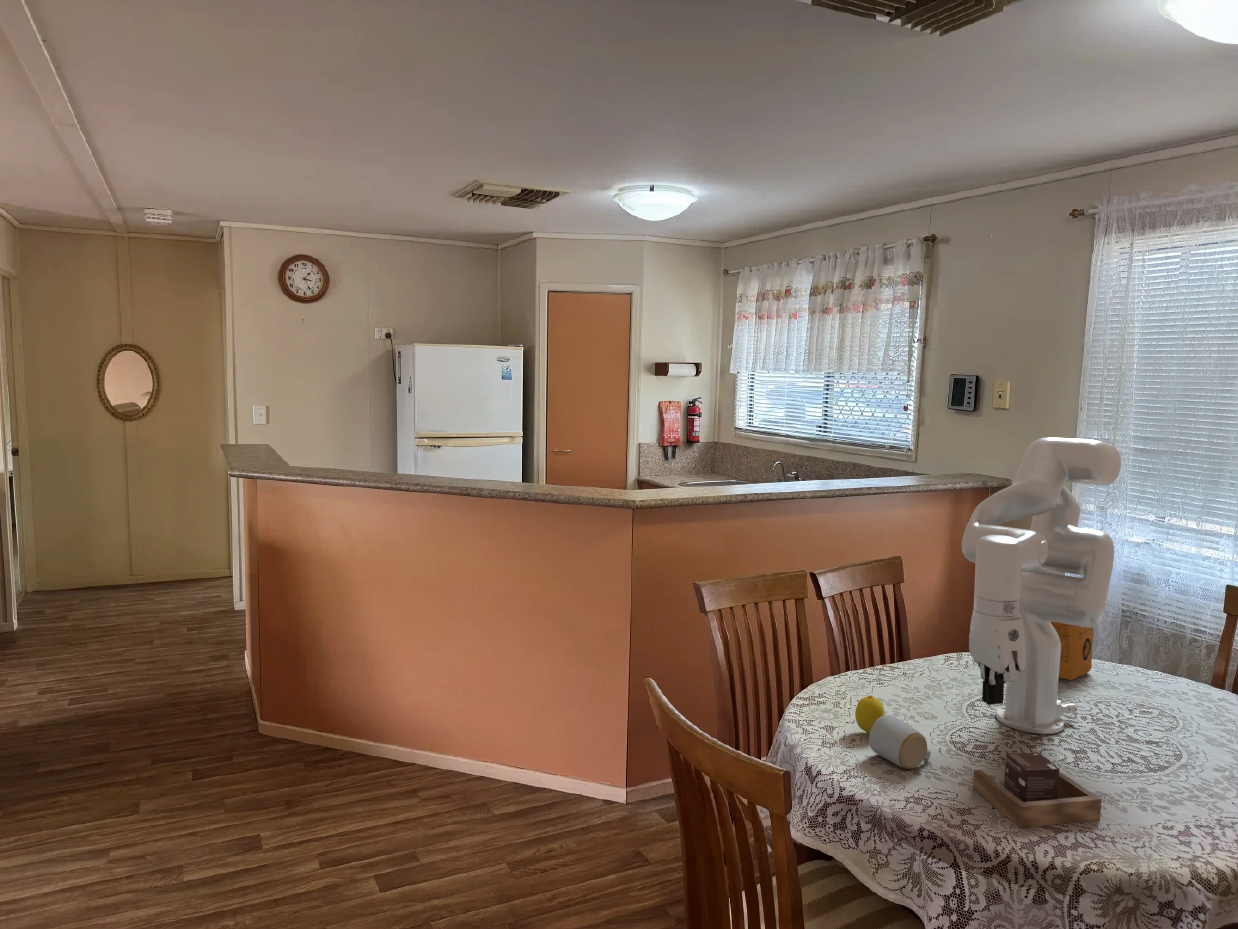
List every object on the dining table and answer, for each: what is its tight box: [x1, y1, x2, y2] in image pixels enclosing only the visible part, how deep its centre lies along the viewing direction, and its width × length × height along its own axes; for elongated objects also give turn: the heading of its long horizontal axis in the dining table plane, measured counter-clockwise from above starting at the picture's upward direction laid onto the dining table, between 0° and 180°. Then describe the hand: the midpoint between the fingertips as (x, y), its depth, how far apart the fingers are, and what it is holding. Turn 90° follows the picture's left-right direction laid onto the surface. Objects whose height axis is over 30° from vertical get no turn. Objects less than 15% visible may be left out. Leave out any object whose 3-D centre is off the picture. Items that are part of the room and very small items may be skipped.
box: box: [1003, 752, 1061, 802], centre depth 139 cm, size 6×6×7 cm
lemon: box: [854, 694, 885, 735], centre depth 165 cm, size 6×6×8 cm
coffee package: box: [1050, 622, 1095, 681], centre depth 200 cm, size 10×12×22 cm
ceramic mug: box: [868, 714, 932, 770], centre depth 154 cm, size 11×8×8 cm
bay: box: [972, 769, 1102, 829], centre depth 138 cm, size 14×12×4 cm
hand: (992, 702), depth 151 cm, fingers closed
